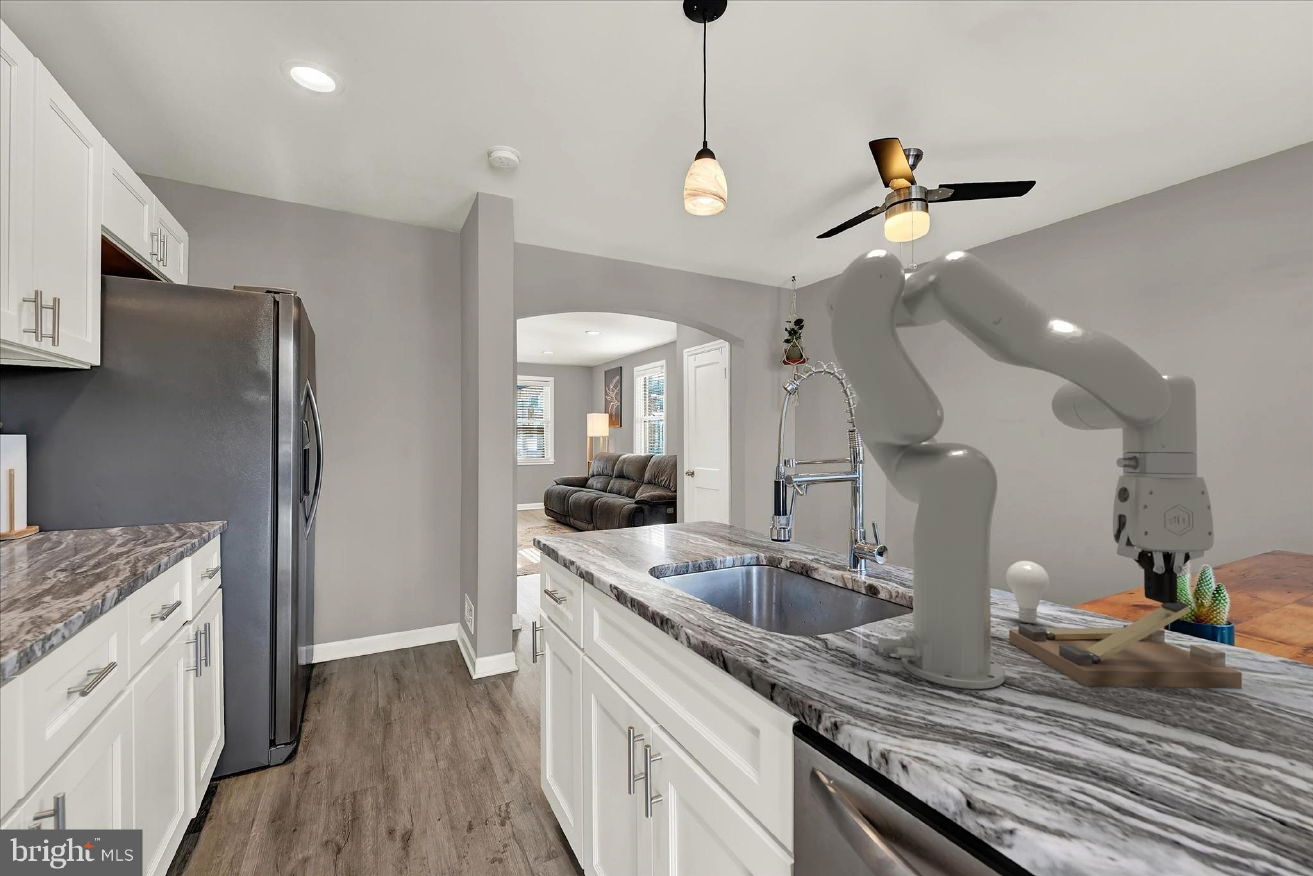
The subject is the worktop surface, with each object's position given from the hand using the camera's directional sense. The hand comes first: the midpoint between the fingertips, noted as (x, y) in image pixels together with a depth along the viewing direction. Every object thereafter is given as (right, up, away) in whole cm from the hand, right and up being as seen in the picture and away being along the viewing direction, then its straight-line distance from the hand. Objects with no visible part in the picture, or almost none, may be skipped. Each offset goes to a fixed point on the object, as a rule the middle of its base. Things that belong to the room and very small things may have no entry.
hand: (1160, 600), depth 75 cm
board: (-3, -10, +4) cm, 12 cm away
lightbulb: (-3, -11, +22) cm, 25 cm away
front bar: (-3, -5, 0) cm, 6 cm away
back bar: (-2, -8, +9) cm, 12 cm away
